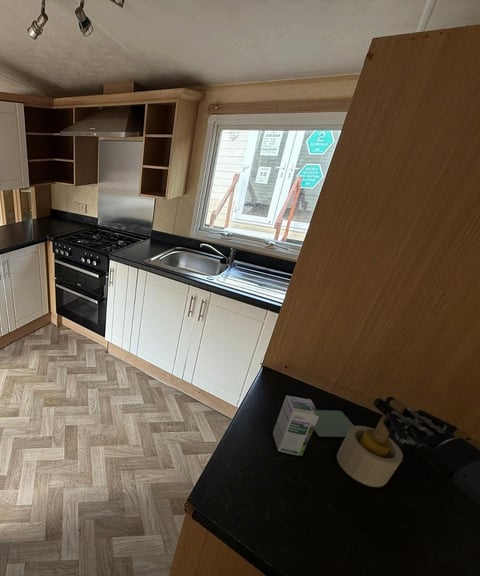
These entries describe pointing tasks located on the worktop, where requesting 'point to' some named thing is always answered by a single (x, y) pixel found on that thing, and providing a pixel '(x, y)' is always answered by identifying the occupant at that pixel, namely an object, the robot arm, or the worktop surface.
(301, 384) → the worktop surface
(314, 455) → the worktop surface
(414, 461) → the worktop surface
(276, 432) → the syrup box
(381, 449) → the sponge brush
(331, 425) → the grey hexagonal plate
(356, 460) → the cream tape roll
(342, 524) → the worktop surface
